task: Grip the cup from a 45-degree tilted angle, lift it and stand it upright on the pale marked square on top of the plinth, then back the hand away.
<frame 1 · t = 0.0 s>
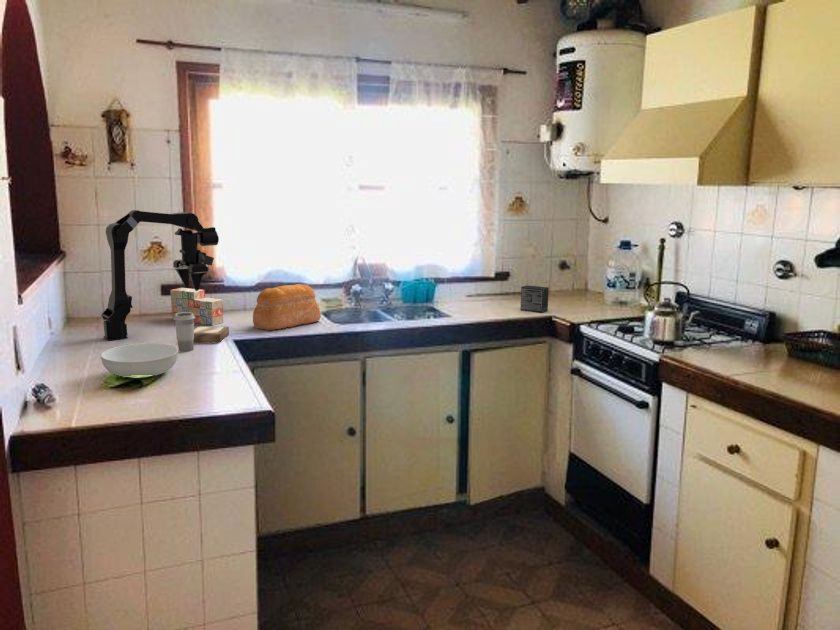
hand: (191, 288, 260), 15 cm above the worktop, tool pointing down, fingers open, 9 cm apart
cup: (186, 350, 230), on the worktop
stack of blocks: (197, 322, 274), on the worktop
plinth: (207, 338, 245), on the worktop
small box: (534, 311, 302), on the worktop
serving bowl: (141, 375, 202), on the worktop
bread: (287, 325, 270), on the worktop
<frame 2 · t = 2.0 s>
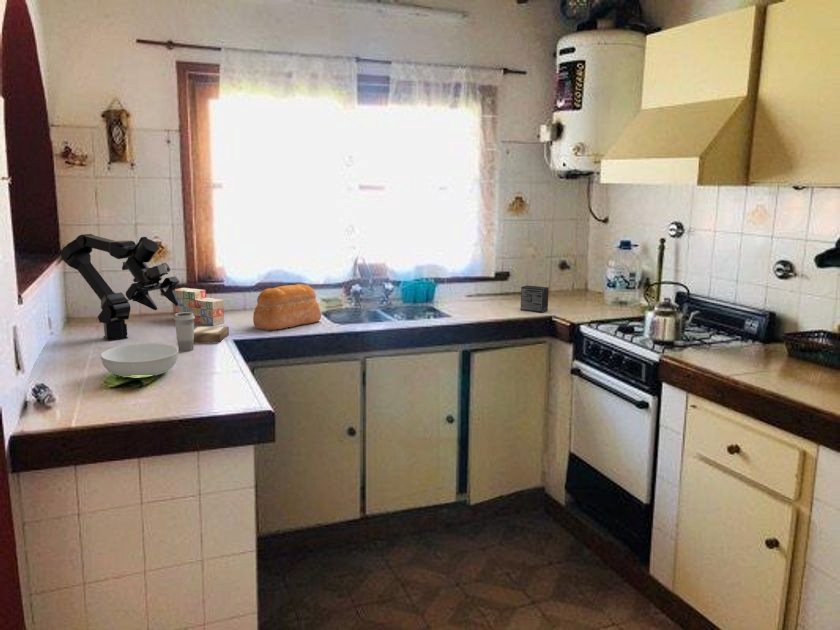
hand: (167, 307, 231), 13 cm above the worktop, tool tilted 45°, fingers open, 9 cm apart
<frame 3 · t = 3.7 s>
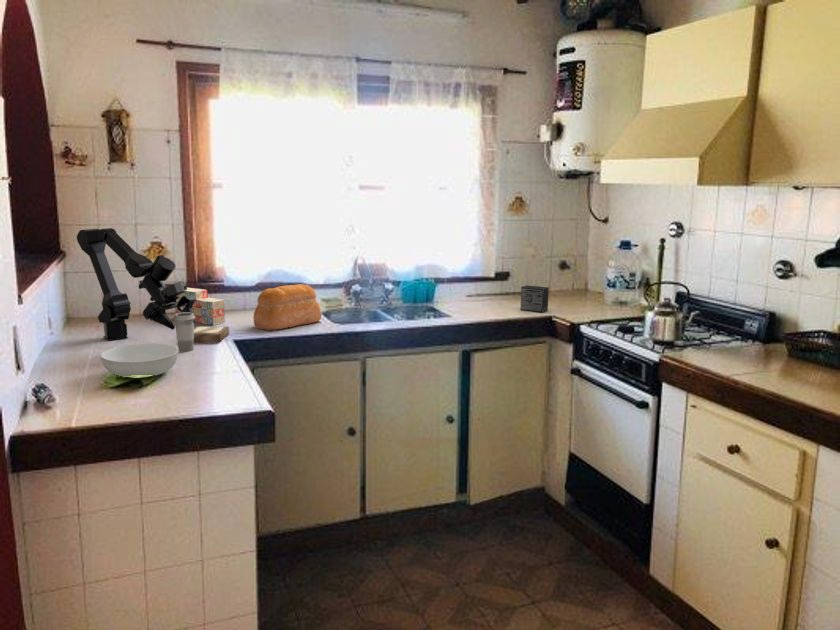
hand: (184, 326, 228), 8 cm above the worktop, tool tilted 45°, fingers open, 9 cm apart
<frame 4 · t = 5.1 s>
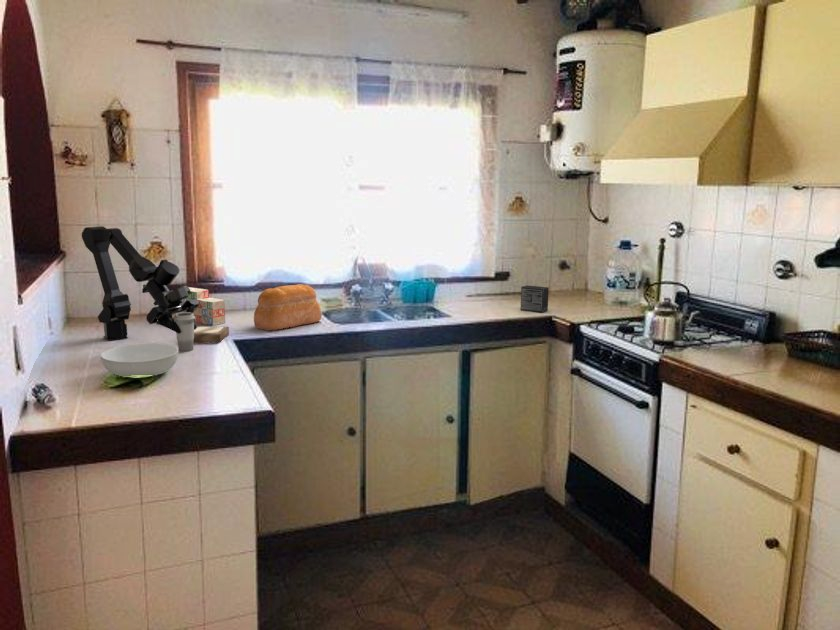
hand: (188, 330, 228), 7 cm above the worktop, tool tilted 45°, fingers closed on cup, 6 cm apart
cup: (186, 350, 230), on the worktop, touching gripper
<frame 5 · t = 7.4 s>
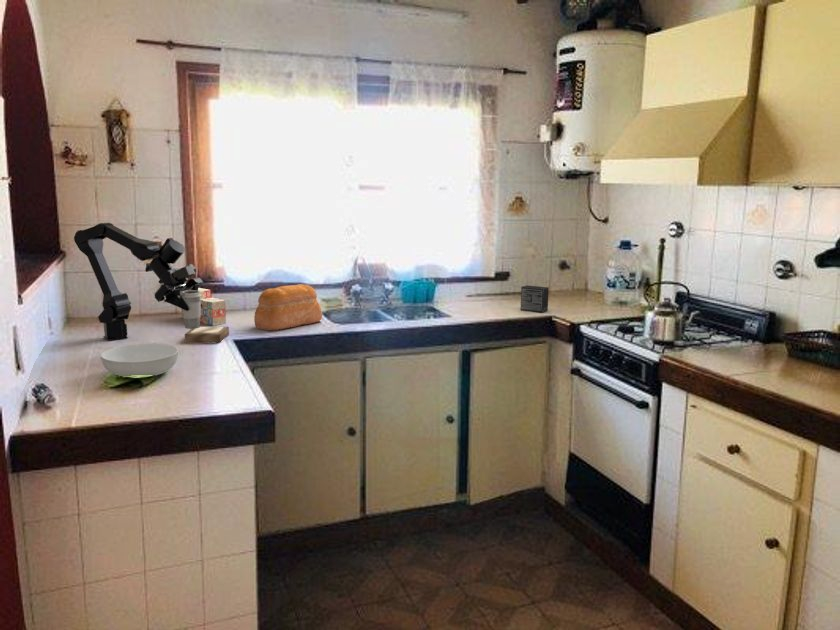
hand: (195, 308, 231), 13 cm above the worktop, tool tilted 45°, fingers closed on cup, 6 cm apart
cup: (192, 327, 233), point 6 cm above the worktop, touching gripper
when the fingers open (11 cm above the worktop, at t = 9.8 s): cup drops 1 cm, resting on plinth.
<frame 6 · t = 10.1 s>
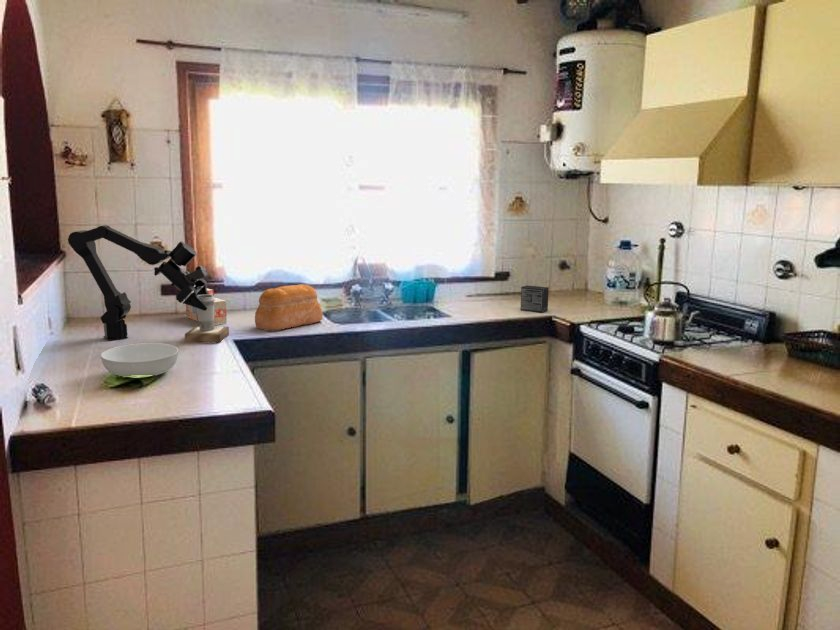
hand: (210, 307, 243), 11 cm above the worktop, tool tilted 45°, fingers open, 9 cm apart
cup: (206, 330, 245), point 3 cm above the worktop, touching plinth
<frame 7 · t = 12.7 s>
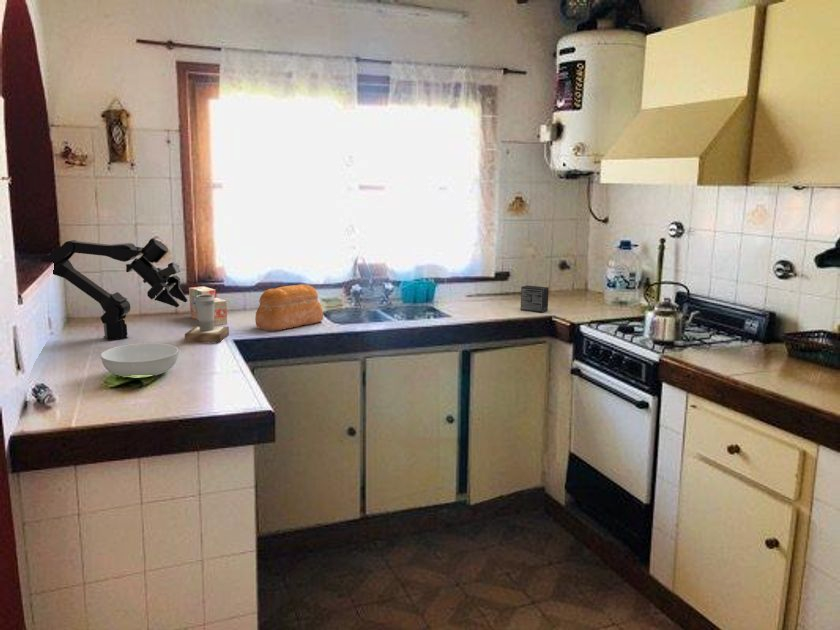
hand: (182, 303, 243), 12 cm above the worktop, tool tilted 45°, fingers open, 9 cm apart
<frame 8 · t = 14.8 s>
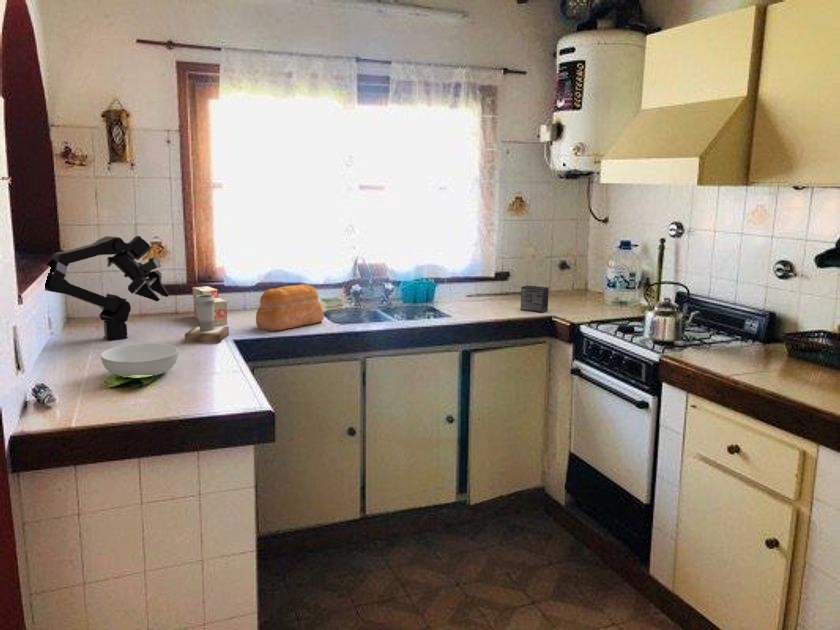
hand: (163, 298, 246), 14 cm above the worktop, tool tilted 45°, fingers open, 9 cm apart
at the end: cup inside the target area on the plinth (0.1 cm from its centre), point 3.0 cm above the plinth's base; cup tilted 0°; the gripper is holding nothing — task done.
